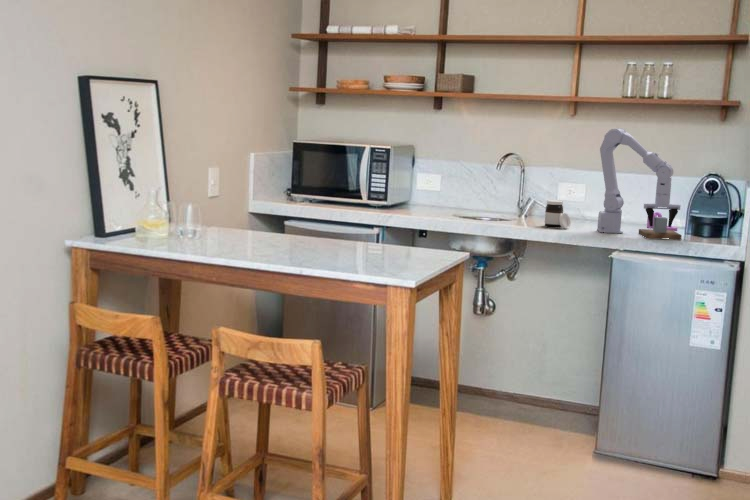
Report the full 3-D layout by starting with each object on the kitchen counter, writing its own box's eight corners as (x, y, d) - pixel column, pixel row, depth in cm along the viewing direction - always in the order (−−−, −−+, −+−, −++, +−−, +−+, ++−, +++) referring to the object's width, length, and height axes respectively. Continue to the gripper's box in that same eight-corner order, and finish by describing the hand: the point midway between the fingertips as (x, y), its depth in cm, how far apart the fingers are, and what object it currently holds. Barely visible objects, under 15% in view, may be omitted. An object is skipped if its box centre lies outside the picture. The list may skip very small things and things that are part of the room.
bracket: (646, 227, 383) (648, 212, 381) (653, 227, 386) (654, 211, 385) (672, 231, 373) (674, 216, 372) (679, 230, 376) (681, 215, 375)
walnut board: (646, 238, 349) (646, 233, 349) (638, 233, 363) (638, 229, 362) (681, 240, 348) (681, 235, 348) (671, 234, 362) (672, 230, 362)
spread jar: (545, 225, 382) (547, 199, 380) (571, 226, 379) (573, 200, 377) (542, 228, 371) (544, 201, 369) (569, 230, 367) (570, 203, 365)
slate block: (655, 232, 353) (656, 218, 352) (652, 230, 358) (653, 216, 357) (666, 232, 353) (667, 218, 352) (663, 231, 358) (664, 217, 356)
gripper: (647, 194, 349) (644, 227, 351) (683, 195, 348) (680, 228, 350) (643, 192, 356) (640, 224, 358) (678, 193, 355) (675, 225, 357)
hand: (660, 226), depth 355 cm, fingers open, 7 cm apart
